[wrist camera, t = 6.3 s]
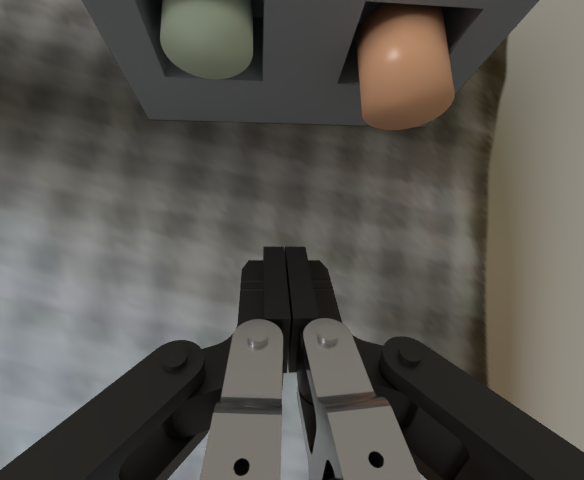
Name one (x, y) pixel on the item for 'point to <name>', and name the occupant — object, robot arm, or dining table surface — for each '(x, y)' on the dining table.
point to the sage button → (208, 36)
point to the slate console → (287, 58)
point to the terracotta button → (403, 66)
